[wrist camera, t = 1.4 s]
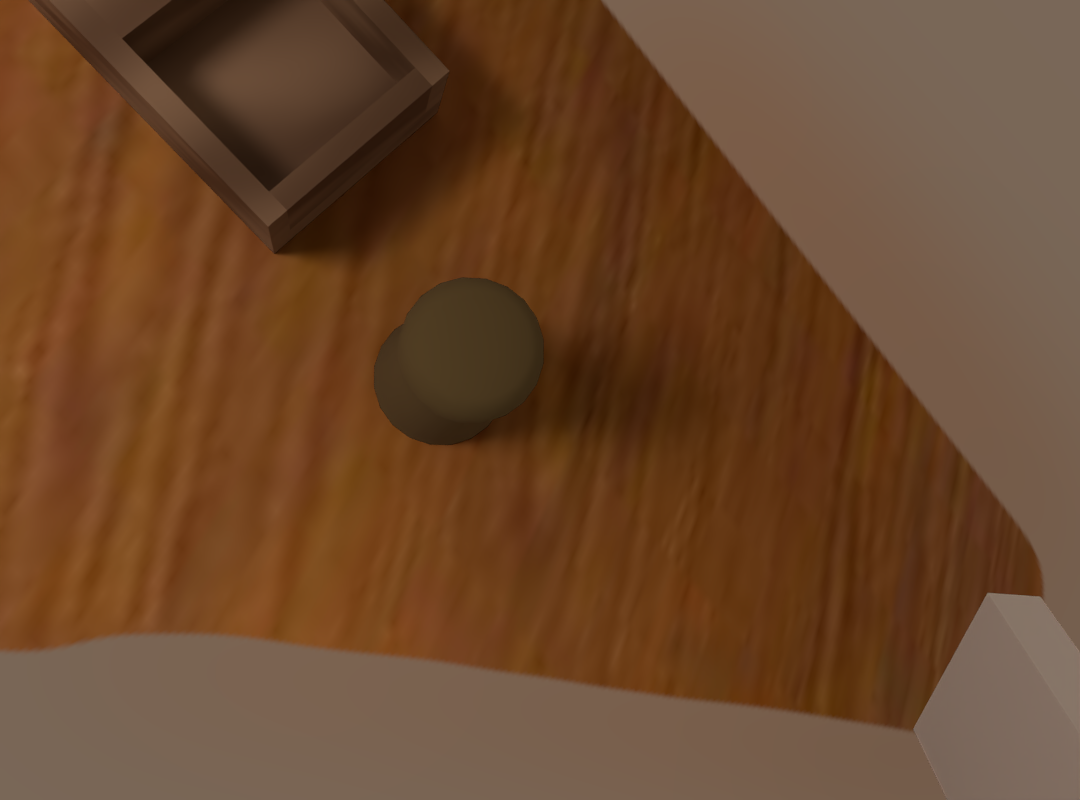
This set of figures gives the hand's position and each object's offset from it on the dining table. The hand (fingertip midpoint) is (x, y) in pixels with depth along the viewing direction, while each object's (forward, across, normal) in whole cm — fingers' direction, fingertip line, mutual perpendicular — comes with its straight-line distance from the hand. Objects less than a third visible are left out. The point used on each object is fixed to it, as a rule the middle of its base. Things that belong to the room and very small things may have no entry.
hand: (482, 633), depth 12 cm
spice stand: (+37, -12, -1) cm, 39 cm away
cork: (+28, 0, -13) cm, 31 cm away
